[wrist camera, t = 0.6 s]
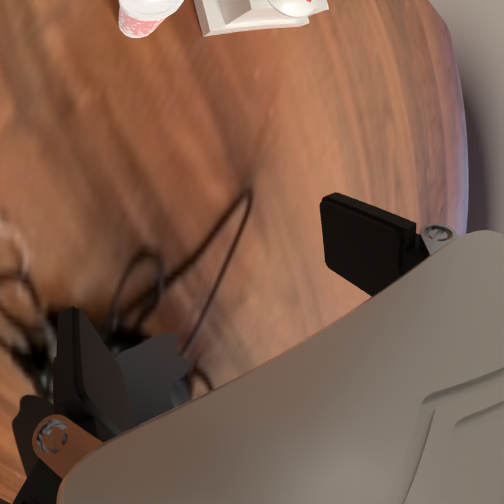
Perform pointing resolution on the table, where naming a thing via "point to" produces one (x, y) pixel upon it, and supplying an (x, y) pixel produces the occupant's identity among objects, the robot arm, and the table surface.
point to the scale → (254, 14)
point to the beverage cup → (144, 15)
